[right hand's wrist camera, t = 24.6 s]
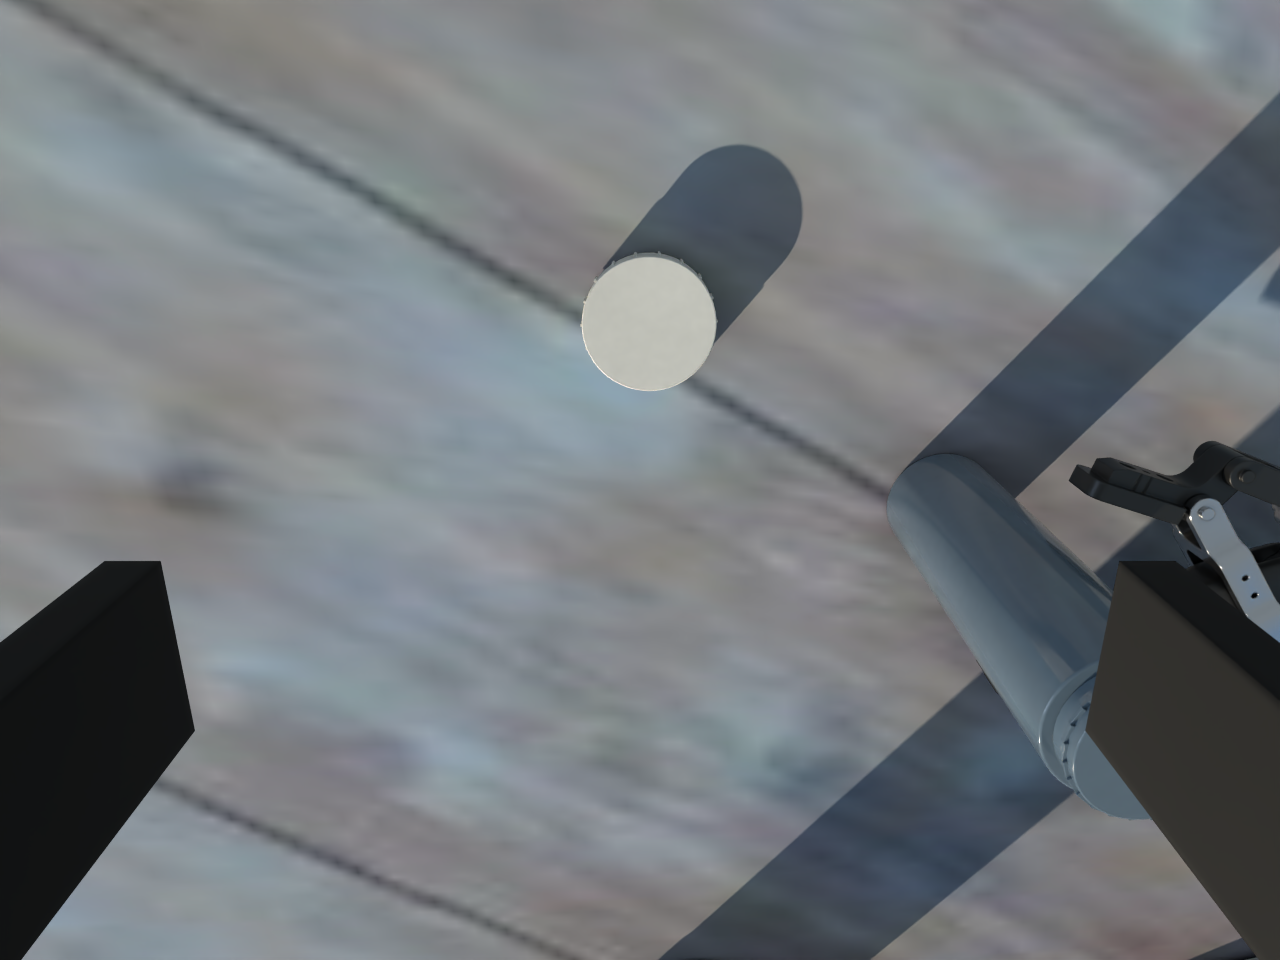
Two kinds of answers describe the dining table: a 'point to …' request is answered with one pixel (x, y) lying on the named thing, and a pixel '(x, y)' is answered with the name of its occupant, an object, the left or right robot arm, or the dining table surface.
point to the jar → (1015, 612)
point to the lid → (649, 321)
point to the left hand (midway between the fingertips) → (1031, 574)
